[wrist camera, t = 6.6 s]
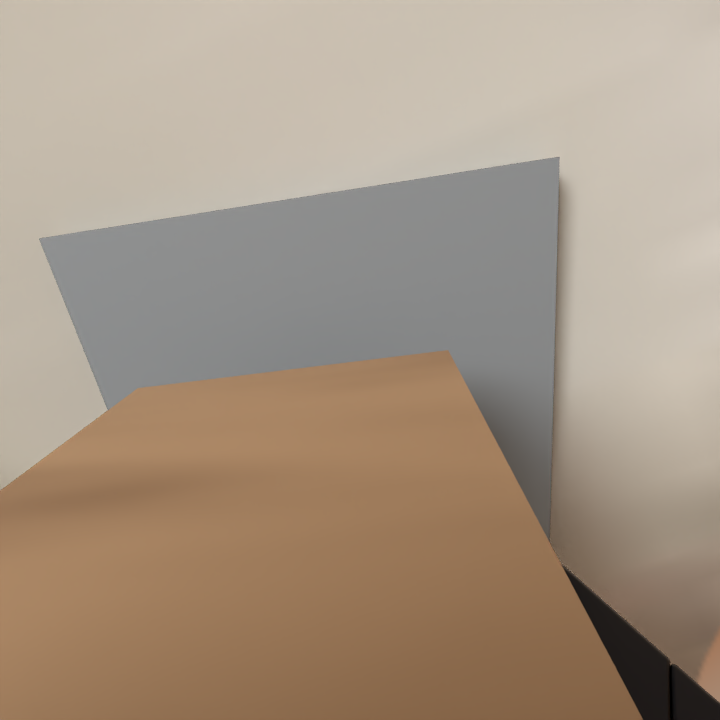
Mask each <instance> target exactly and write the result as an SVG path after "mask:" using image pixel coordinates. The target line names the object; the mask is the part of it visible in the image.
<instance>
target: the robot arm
mask: <svg viewBox="0 0 720 720" xmlns="http://www.w3.org/2000/svg"><path fill="white" fill-rule="evenodd" d="M561 565H562V564H561ZM562 567H563V569H564V571H565V573H566V574H567V576H568V578H569V580H570V582H571V584H572V586H573V588H574V590H575V592H576V593H577V595H578V597H579V599H580V601H581V603H582V605H583V607H584V609H585V610H586V612H587V614H588V616H589V618H590V620H591V622H592V624H593V626H594V628H595V629H596V631H597V633H598V635H599V637H600V639H601V641H602V643H603V645H604V646H605V648H606V650H607V652H608V654H609V656H610V658H611V660H612V662H613V664H614V665H615V667H616V669H617V671H618V673H619V675H620V677H621V679H622V681H623V683H624V684H625V686H626V688H627V690H628V692H629V694H630V696H631V698H632V700H633V701H634V703H635V705H636V707H637V709H638V711H639V713H640V715H641V717H642V719H643V720H720V703H719V702H718V701H717V700H716V699H715V698H713V697H712V696H711V695H710V694H709V693H708V692H706V691H705V690H704V689H703V688H702V687H701V686H700V685H698V684H697V683H696V682H695V681H694V680H693V679H692V678H691V677H689V676H688V675H687V674H686V673H685V672H684V671H683V670H681V669H680V668H679V667H678V666H677V665H675V664H672V665H671V666H670V660H669V658H668V657H666V656H665V655H664V654H663V653H662V652H661V651H660V650H659V649H657V648H656V647H655V646H654V645H653V644H652V643H651V642H649V641H648V640H647V639H646V638H645V637H644V636H643V635H642V634H640V633H639V632H638V631H637V630H636V629H635V628H634V627H632V626H631V625H630V624H629V623H628V622H627V621H626V620H625V619H623V618H622V617H621V616H620V615H619V614H618V613H617V612H615V611H614V610H613V609H612V608H611V607H610V606H609V605H608V604H606V603H605V602H604V601H603V600H602V599H601V598H600V597H598V596H597V595H596V594H595V593H594V592H593V591H592V590H591V589H589V588H588V587H587V586H586V585H585V584H584V583H583V582H582V581H580V580H579V579H578V578H577V577H576V576H575V575H574V574H572V573H571V572H570V571H569V570H568V569H567V568H566V567H565V566H563V565H562Z"/></svg>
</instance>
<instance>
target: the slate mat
mask: <svg viewBox="0 0 720 720" xmlns="http://www.w3.org/2000/svg"><path fill="white" fill-rule="evenodd" d="M559 159H560V157H555V158H548V159H542V160H536V161H529V162H523V163H517V164H510V165H504V166H498V167H491V168H485V169H478V170H472V171H466V172H459V173H453V174H447V175H440V176H434V177H428V178H421V179H415V180H408V181H402V182H396V183H389V184H383V185H377V186H370V187H364V188H358V189H351V190H345V191H338V192H332V193H326V194H319V195H313V196H307V197H300V198H294V199H288V200H281V201H275V202H268V203H262V204H256V205H249V206H243V207H237V208H230V209H224V210H218V211H211V212H205V213H198V214H192V215H186V216H179V217H173V218H167V219H160V220H154V221H148V222H141V223H135V224H128V225H122V226H116V227H109V228H103V229H97V230H90V231H84V232H78V233H71V234H65V235H58V236H52V237H46V238H39V240H40V242H41V245H42V247H43V250H44V252H45V255H46V257H47V260H48V262H49V265H50V267H51V270H52V272H53V275H54V277H55V280H56V282H57V285H58V287H59V290H60V292H61V295H62V297H63V300H64V302H65V305H66V307H67V310H68V312H69V315H70V317H71V319H72V322H73V324H74V327H75V329H76V332H77V334H78V337H79V339H80V342H81V344H82V347H83V349H84V352H85V354H86V357H87V359H88V362H89V364H90V367H91V369H92V372H93V374H94V377H95V379H96V382H97V384H98V387H99V389H100V392H101V394H102V397H103V399H104V402H105V404H106V407H107V409H108V410H109V409H110V408H112V407H113V406H115V405H116V404H117V403H119V402H120V401H121V400H123V399H124V398H125V397H127V396H128V395H129V394H131V393H132V392H133V391H135V390H136V389H137V388H143V387H151V386H159V385H167V384H176V383H184V382H192V381H200V380H208V379H216V378H225V377H233V376H241V375H249V374H257V373H265V372H274V371H282V370H290V369H298V368H306V367H314V366H323V365H331V364H339V363H347V362H355V361H363V360H372V359H380V358H388V357H396V356H404V355H412V354H421V353H429V352H437V351H445V350H448V351H449V353H450V355H451V356H452V358H453V360H454V362H455V364H456V366H457V368H458V370H459V372H460V374H461V375H462V377H463V379H464V381H465V383H466V385H467V387H468V389H469V391H470V392H471V394H472V396H473V398H474V400H475V402H476V404H477V406H478V408H479V410H480V411H481V413H482V415H483V417H484V419H485V421H486V423H487V425H488V427H489V428H490V430H491V432H492V434H493V436H494V438H495V440H496V442H497V444H498V446H499V447H500V449H501V451H502V453H503V455H504V457H505V459H506V461H507V463H508V465H509V466H510V468H511V470H512V472H513V474H514V476H515V478H516V480H517V482H518V483H519V485H520V487H521V489H522V491H523V493H524V495H525V497H526V499H527V501H528V502H529V504H530V506H531V508H532V510H533V512H534V514H535V516H536V518H537V519H538V521H539V523H540V525H541V527H542V529H543V531H544V533H545V535H546V537H547V538H548V540H549V542H550V506H551V467H552V429H553V390H554V352H555V313H556V275H557V236H558V198H559Z"/></svg>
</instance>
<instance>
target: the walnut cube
mask: <svg viewBox="0 0 720 720" xmlns="http://www.w3.org/2000/svg"><path fill="white" fill-rule="evenodd" d="M0 720H643V719H642V717H641V715H640V713H639V711H638V709H637V707H636V705H635V703H634V701H633V700H632V698H631V696H630V694H629V692H628V690H627V688H626V686H625V684H624V683H623V681H622V679H621V677H620V675H619V673H618V671H617V669H616V667H615V665H614V664H613V662H612V660H611V658H610V656H609V654H608V652H607V650H606V648H605V646H604V645H603V643H602V641H601V639H600V637H599V635H598V633H597V631H596V629H595V628H594V626H593V624H592V622H591V620H590V618H589V616H588V614H587V612H586V610H585V609H584V607H583V605H582V603H581V601H580V599H579V597H578V595H577V593H576V592H575V590H574V588H573V586H572V584H571V582H570V580H569V578H568V576H567V574H566V573H565V571H564V569H563V567H562V565H561V563H560V561H559V559H558V557H557V556H556V554H555V552H554V550H553V548H552V546H551V544H550V542H549V540H548V538H547V537H546V535H545V533H544V531H543V529H542V527H541V525H540V523H539V521H538V519H537V518H536V516H535V514H534V512H533V510H532V508H531V506H530V504H529V502H528V501H527V499H526V497H525V495H524V493H523V491H522V489H521V487H520V485H519V483H518V482H517V480H516V478H515V476H514V474H513V472H512V470H511V468H510V466H509V465H508V463H507V461H506V459H505V457H504V455H503V453H502V451H501V449H500V447H499V446H498V444H497V442H496V440H495V438H494V436H493V434H492V432H491V430H490V428H489V427H488V425H487V423H486V421H485V419H484V417H483V415H482V413H481V411H480V410H479V408H478V406H477V404H476V402H475V400H474V398H473V396H472V394H471V392H470V391H469V389H468V387H467V385H466V383H465V381H464V379H463V377H462V375H461V374H460V372H459V370H458V368H457V366H456V364H455V362H454V360H453V358H452V356H451V355H450V353H449V351H448V350H445V351H437V352H429V353H421V354H412V355H404V356H396V357H388V358H380V359H372V360H363V361H355V362H347V363H339V364H331V365H323V366H314V367H306V368H298V369H290V370H282V371H274V372H265V373H257V374H249V375H241V376H233V377H225V378H216V379H208V380H200V381H192V382H184V383H176V384H167V385H159V386H151V387H143V388H137V389H136V390H135V391H133V392H132V393H131V394H129V395H128V396H127V397H125V398H124V399H123V400H121V401H120V402H119V403H117V404H116V405H115V406H113V407H112V408H110V409H109V410H108V411H106V412H105V413H104V414H102V415H101V416H100V417H98V418H97V419H96V420H94V421H93V422H92V423H90V424H89V425H88V426H86V427H85V428H84V429H82V430H81V431H80V432H78V433H77V434H76V435H74V436H73V437H72V438H70V439H69V440H68V441H66V442H65V443H64V444H62V445H61V446H60V447H58V448H57V449H55V450H54V451H53V452H51V453H50V454H49V455H47V456H46V457H45V458H43V459H42V460H41V461H39V462H38V463H37V464H35V465H34V466H33V467H31V468H30V469H29V470H27V471H26V472H25V473H23V474H22V475H21V476H19V477H18V478H17V479H15V480H14V481H13V482H11V483H10V484H9V485H7V486H6V487H5V488H3V489H2V490H1V491H0Z"/></svg>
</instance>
